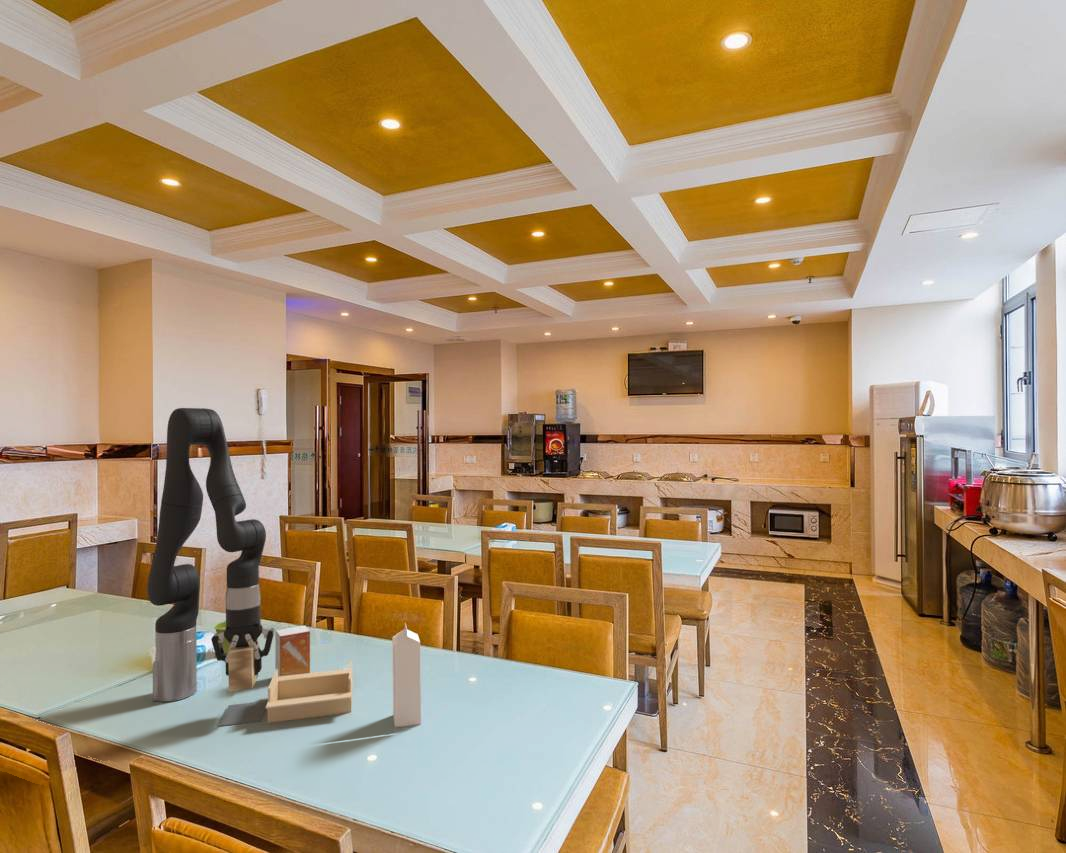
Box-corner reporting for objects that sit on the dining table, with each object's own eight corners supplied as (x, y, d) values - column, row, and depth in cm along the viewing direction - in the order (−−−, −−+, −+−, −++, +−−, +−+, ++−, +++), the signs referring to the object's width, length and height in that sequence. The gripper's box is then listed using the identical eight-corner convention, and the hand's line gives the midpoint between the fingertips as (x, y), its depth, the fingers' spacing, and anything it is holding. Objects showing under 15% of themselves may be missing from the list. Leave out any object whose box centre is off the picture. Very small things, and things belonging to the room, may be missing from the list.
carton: (265, 729, 138) (265, 694, 138) (277, 696, 155) (277, 664, 155) (350, 718, 143) (350, 684, 143) (353, 687, 160) (352, 657, 160)
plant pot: (238, 657, 183) (238, 628, 183) (208, 657, 183) (208, 629, 183) (253, 646, 193) (253, 619, 193) (224, 646, 193) (224, 619, 193)
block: (228, 691, 140) (228, 652, 140) (236, 678, 148) (235, 641, 148) (252, 688, 142) (251, 650, 142) (258, 675, 149) (257, 639, 149)
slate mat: (218, 728, 138) (218, 725, 138) (228, 707, 149) (228, 705, 149) (260, 723, 141) (260, 720, 141) (268, 703, 151) (268, 700, 151)
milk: (394, 728, 137) (393, 631, 138) (393, 716, 143) (391, 623, 143) (421, 724, 139) (420, 628, 139) (419, 712, 145) (417, 620, 145)
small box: (279, 684, 162) (279, 636, 163) (275, 677, 168) (274, 630, 168) (310, 677, 167) (310, 630, 167) (305, 670, 172) (305, 624, 172)
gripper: (206, 611, 140) (206, 685, 139) (272, 605, 143) (273, 677, 143) (214, 602, 147) (215, 673, 147) (277, 597, 151) (278, 666, 150)
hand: (244, 674), depth 145 cm, fingers closed on block, 5 cm apart
